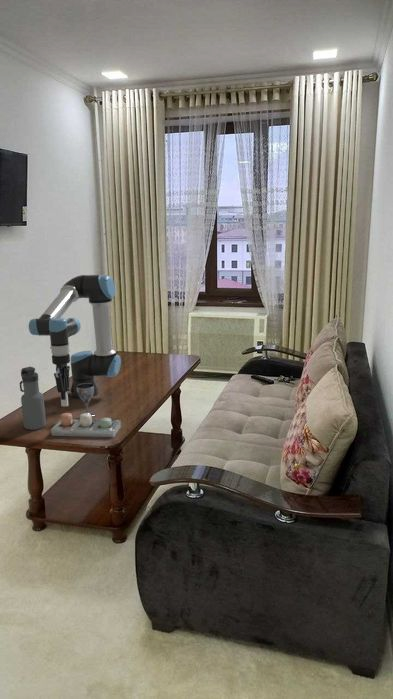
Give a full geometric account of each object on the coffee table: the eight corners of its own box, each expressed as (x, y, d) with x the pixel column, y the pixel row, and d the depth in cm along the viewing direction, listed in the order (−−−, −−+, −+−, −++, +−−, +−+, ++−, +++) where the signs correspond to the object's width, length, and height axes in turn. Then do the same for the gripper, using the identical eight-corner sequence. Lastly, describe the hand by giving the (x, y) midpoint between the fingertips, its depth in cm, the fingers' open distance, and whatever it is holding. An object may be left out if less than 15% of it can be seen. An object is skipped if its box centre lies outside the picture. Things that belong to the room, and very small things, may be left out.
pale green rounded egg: (102, 428, 228) (101, 417, 227) (113, 428, 228) (112, 417, 227) (99, 432, 224) (98, 421, 222) (110, 432, 223) (109, 422, 222)
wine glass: (89, 418, 241) (87, 388, 237) (75, 417, 244) (73, 387, 240) (98, 413, 248) (96, 383, 244) (85, 411, 251) (82, 382, 247)
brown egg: (63, 423, 230) (62, 412, 229) (74, 423, 229) (73, 412, 228) (59, 427, 225) (58, 416, 224) (70, 427, 225) (69, 417, 223)
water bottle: (20, 426, 234) (13, 368, 227) (39, 420, 240) (33, 363, 234) (30, 432, 227) (23, 372, 220) (50, 426, 233) (44, 367, 227)
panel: (61, 425, 234) (61, 418, 233) (120, 426, 231) (120, 420, 230) (51, 435, 223) (51, 429, 222) (113, 437, 219) (113, 430, 219)
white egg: (82, 423, 229) (82, 413, 228) (93, 423, 228) (92, 413, 227) (79, 427, 224) (78, 417, 223) (90, 428, 223) (89, 417, 222)
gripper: (57, 350, 226) (62, 400, 231) (46, 357, 213) (51, 410, 219) (74, 350, 225) (78, 400, 231) (63, 357, 212) (67, 411, 218)
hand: (65, 405), depth 225 cm, fingers closed
